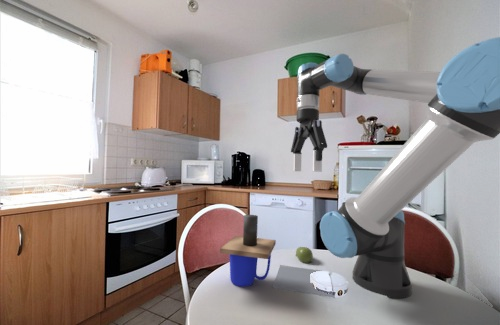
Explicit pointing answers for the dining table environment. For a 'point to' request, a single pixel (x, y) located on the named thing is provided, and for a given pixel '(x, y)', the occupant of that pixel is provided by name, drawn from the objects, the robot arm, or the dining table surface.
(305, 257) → the pear
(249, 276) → the mug
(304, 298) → the dining table surface
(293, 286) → the mat
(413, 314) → the dining table surface
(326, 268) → the dining table surface
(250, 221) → the lid
